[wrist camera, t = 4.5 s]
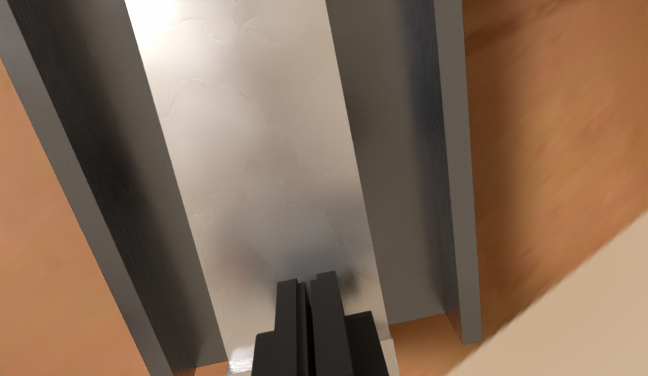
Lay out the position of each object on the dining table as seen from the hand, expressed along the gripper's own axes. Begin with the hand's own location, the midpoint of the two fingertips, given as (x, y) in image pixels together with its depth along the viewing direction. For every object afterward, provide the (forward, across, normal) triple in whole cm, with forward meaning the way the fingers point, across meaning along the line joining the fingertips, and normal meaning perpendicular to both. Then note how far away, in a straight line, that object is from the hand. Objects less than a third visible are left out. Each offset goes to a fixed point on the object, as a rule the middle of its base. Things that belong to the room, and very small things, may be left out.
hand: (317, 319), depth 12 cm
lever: (+3, +1, -6) cm, 7 cm away
